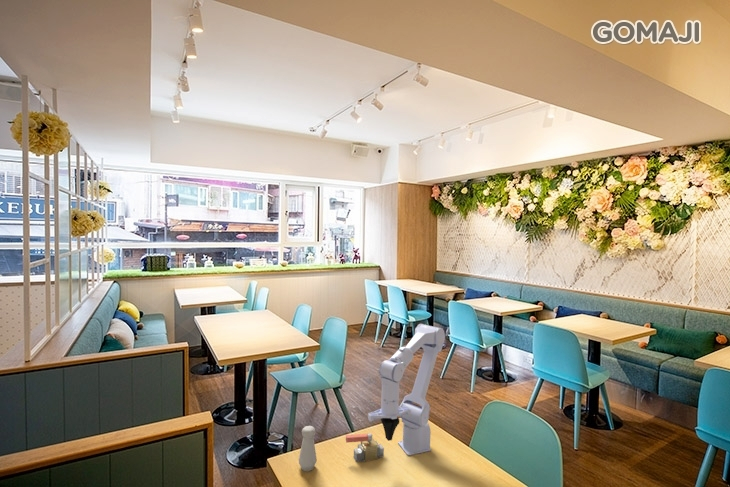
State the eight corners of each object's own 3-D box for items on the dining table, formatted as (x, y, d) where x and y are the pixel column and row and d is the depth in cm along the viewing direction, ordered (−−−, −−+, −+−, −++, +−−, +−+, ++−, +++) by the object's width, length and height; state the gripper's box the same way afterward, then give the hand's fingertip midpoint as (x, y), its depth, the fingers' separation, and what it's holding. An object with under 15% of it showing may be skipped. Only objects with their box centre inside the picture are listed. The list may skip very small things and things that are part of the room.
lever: (371, 437, 125) (371, 433, 125) (372, 440, 123) (372, 436, 123) (345, 439, 123) (345, 434, 123) (346, 442, 121) (346, 438, 121)
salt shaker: (312, 474, 114) (314, 434, 113) (295, 471, 115) (296, 431, 115) (318, 463, 120) (320, 424, 119) (302, 460, 121) (303, 422, 120)
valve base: (379, 450, 128) (380, 434, 128) (384, 457, 124) (385, 441, 123) (352, 455, 124) (353, 439, 124) (357, 463, 120) (357, 446, 120)
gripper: (374, 406, 112) (372, 449, 112) (415, 400, 117) (414, 441, 117) (366, 396, 118) (364, 437, 119) (405, 391, 124) (404, 430, 124)
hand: (388, 438), depth 118 cm, fingers closed
